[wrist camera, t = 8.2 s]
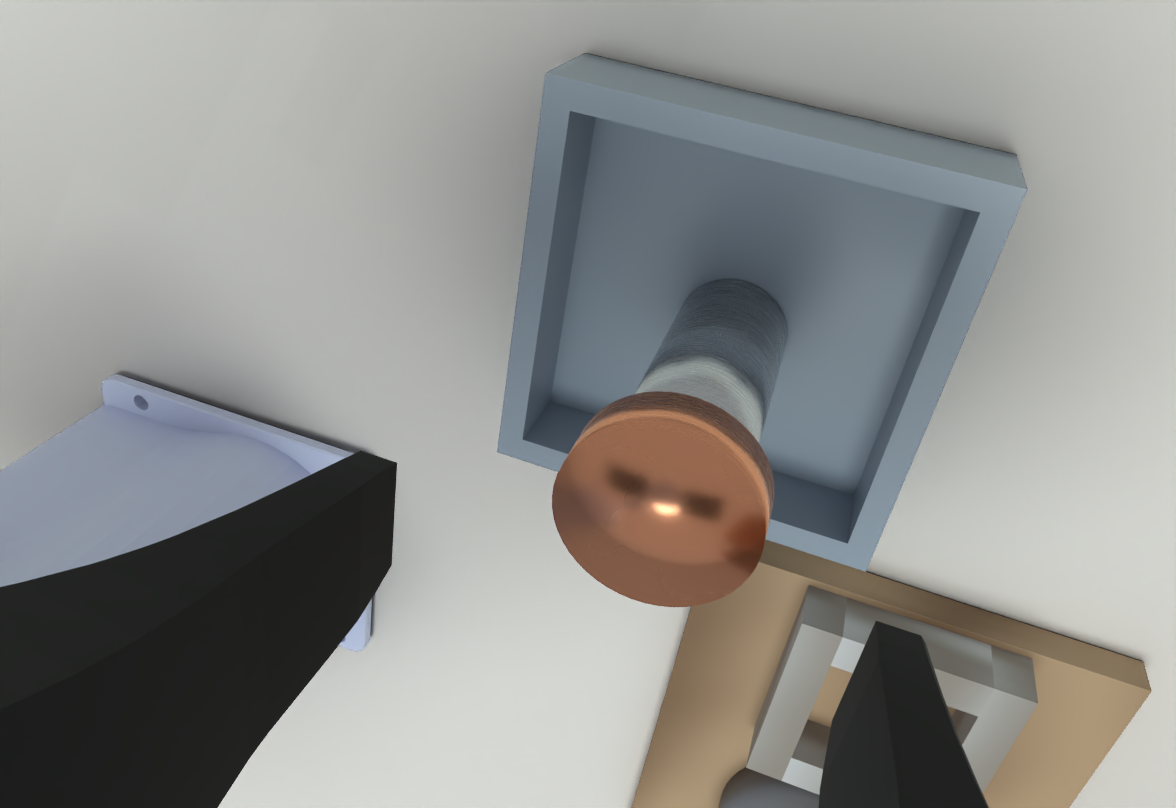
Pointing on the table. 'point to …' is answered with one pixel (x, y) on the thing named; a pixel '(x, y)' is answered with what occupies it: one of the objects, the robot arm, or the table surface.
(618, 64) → the tray
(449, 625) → the table surface
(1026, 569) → the table surface
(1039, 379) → the table surface
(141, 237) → the table surface
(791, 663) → the pulley board
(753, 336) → the lock pin
